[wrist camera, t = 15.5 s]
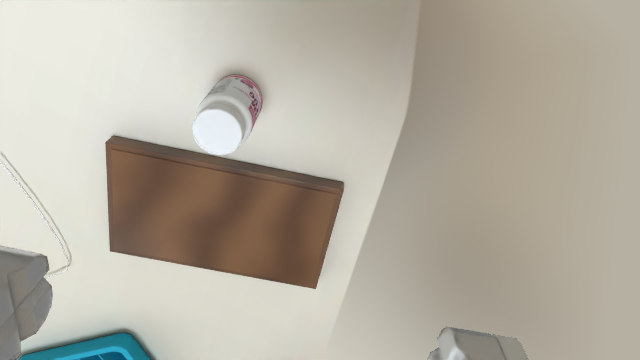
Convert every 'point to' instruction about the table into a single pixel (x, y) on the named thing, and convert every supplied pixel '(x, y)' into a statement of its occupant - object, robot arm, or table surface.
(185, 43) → the table surface
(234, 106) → the pill bottle
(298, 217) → the cutting board
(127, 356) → the ice cube tray
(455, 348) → the robot arm
